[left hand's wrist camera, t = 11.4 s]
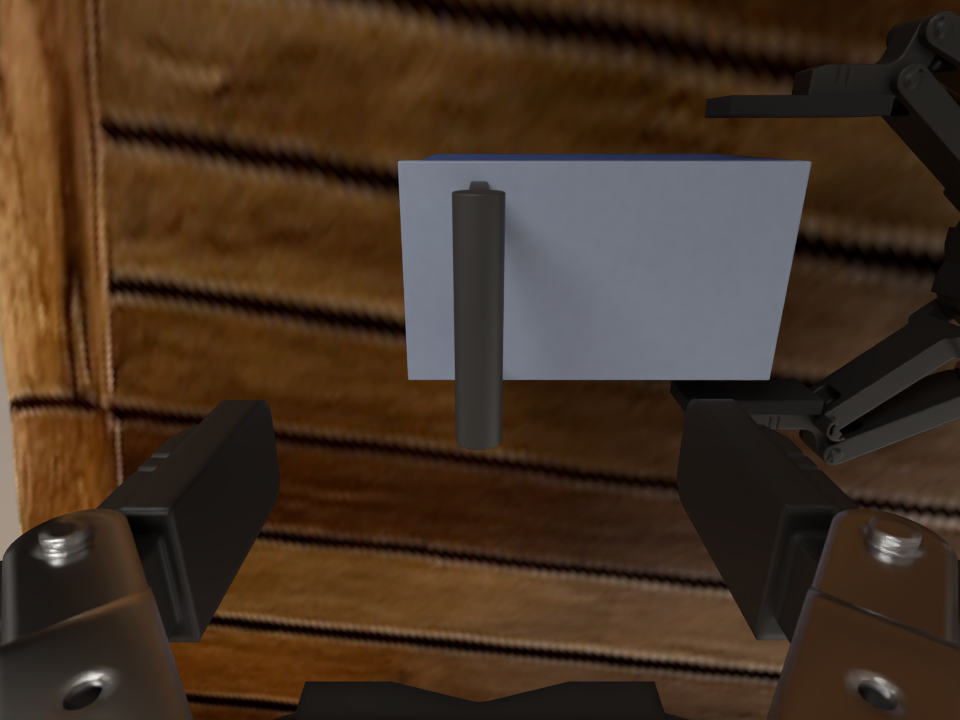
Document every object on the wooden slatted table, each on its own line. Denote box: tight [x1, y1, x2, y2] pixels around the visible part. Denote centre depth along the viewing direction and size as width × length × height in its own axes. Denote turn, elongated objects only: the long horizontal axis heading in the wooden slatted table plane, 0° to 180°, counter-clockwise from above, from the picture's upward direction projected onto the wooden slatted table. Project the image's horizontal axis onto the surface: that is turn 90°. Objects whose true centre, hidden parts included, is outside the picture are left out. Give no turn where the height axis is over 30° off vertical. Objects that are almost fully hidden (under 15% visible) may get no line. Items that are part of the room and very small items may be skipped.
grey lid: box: [398, 161, 811, 450], centre depth 21 cm, size 16×9×8 cm, turn 90°
